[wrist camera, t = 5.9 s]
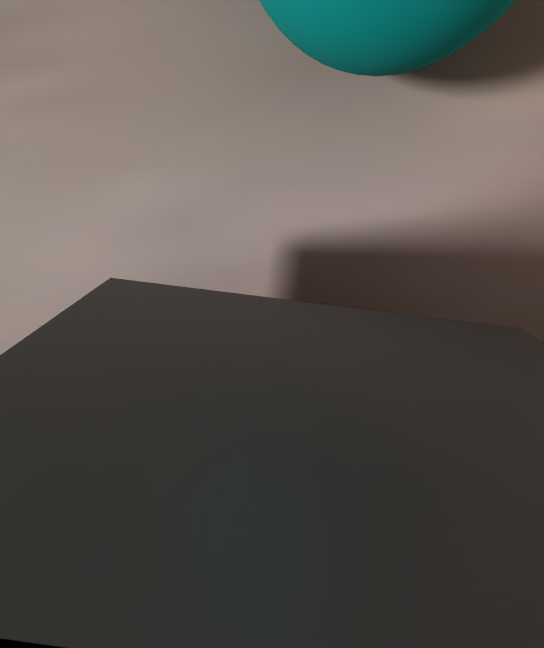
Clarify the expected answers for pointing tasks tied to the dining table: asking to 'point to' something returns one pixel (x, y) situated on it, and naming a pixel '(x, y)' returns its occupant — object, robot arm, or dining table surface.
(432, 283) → the dining table surface
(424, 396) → the dark grey block
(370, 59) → the ball
